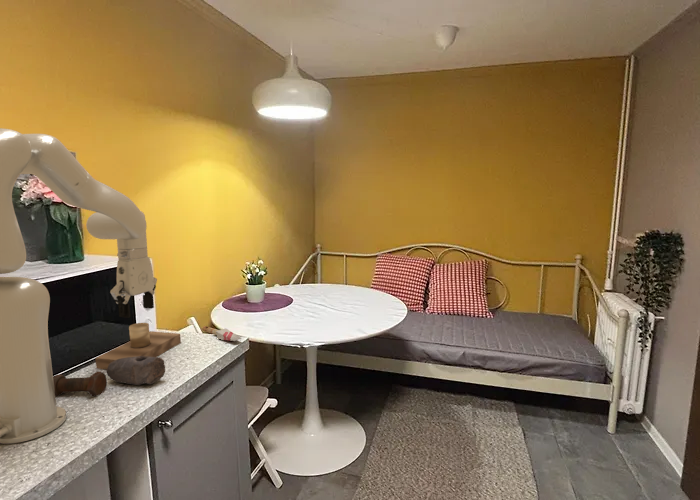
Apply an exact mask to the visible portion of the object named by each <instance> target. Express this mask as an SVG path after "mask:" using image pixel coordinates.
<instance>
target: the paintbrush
mask: <svg viewBox="0 0 700 500" xmlns="http://www.w3.org/2000/svg"><path fill="white" fill-rule="evenodd" d="M202 331H203V332H205V333H209V334H211V335H214V336H216V339H217V338H218V339H217V340H219V339H221V341H233V342H235V341H238V340H242V337H241V336H239V335H237V334H236V333H234V332H232V331H231V330H229V329H227V328H222V329H216V328H213V327H210V326H208V325H204V326H202Z"/></svg>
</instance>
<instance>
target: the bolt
mask: <svg viewBox="0 0 700 500" xmlns="http://www.w3.org/2000/svg"><path fill="white" fill-rule="evenodd" d="M106 375H107V374H105V373H104V372H103V371H96V372H94V373H93V374H91V375H90V376H88V377H65V376H64V375H63V374H56V375H53V381H54V389H55V397H58V396H61V395H62V394H64V393H75V392H76V393H79V392H81V393H83V392H86V393H89V395H90V396H91V397H98V396H100V395H102V394H103V393H104V391H105V390H106V389H107V384H108V383H107V376H106Z"/></svg>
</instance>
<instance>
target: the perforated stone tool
mask: <svg viewBox="0 0 700 500" xmlns="http://www.w3.org/2000/svg"><path fill="white" fill-rule="evenodd" d="M165 373H166V365H165V360H164V359H163V358H161V357H159V356H157V357H149V356H137V357H127V358H121V359H117V360H115V361H113V362H111V363H110V364H109V365H108V368H107V370H106V375H107V377H108V379H109V378H110V379H111V381H113V382H116V383H120V384H122V383H124V384H126V385H134V386H135V385H136V386H139V385H143V384H147V385H153V384H154V383H156V382H159V381H160V380H161V379H162V378H163V377H164V375H165Z"/></svg>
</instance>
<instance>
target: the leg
mask: <svg viewBox="0 0 700 500" xmlns="http://www.w3.org/2000/svg"><path fill="white" fill-rule="evenodd" d="M128 330H129V333H128V334H129V341H130V344H131V348H144V347H147V346H149V345H150V334H149V332H150V324H149V323H148V322H137V323H132V324H130V325H129V326H128Z"/></svg>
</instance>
